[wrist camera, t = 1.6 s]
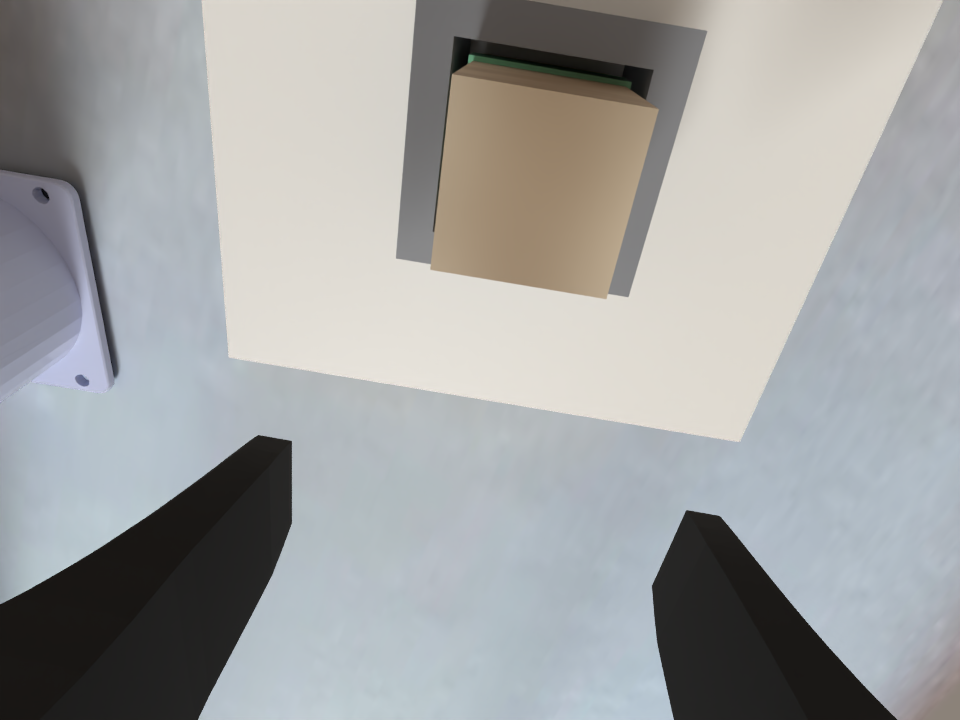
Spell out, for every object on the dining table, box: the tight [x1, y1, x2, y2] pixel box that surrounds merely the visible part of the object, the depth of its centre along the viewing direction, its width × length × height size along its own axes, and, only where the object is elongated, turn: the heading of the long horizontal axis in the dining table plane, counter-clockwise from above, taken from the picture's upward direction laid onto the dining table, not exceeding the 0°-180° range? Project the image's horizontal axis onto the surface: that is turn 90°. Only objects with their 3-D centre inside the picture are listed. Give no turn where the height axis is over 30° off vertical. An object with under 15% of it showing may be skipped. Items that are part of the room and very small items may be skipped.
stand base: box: [202, 0, 943, 442], centre depth 15 cm, size 18×18×5 cm
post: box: [430, 52, 659, 299], centre depth 13 cm, size 3×3×7 cm
